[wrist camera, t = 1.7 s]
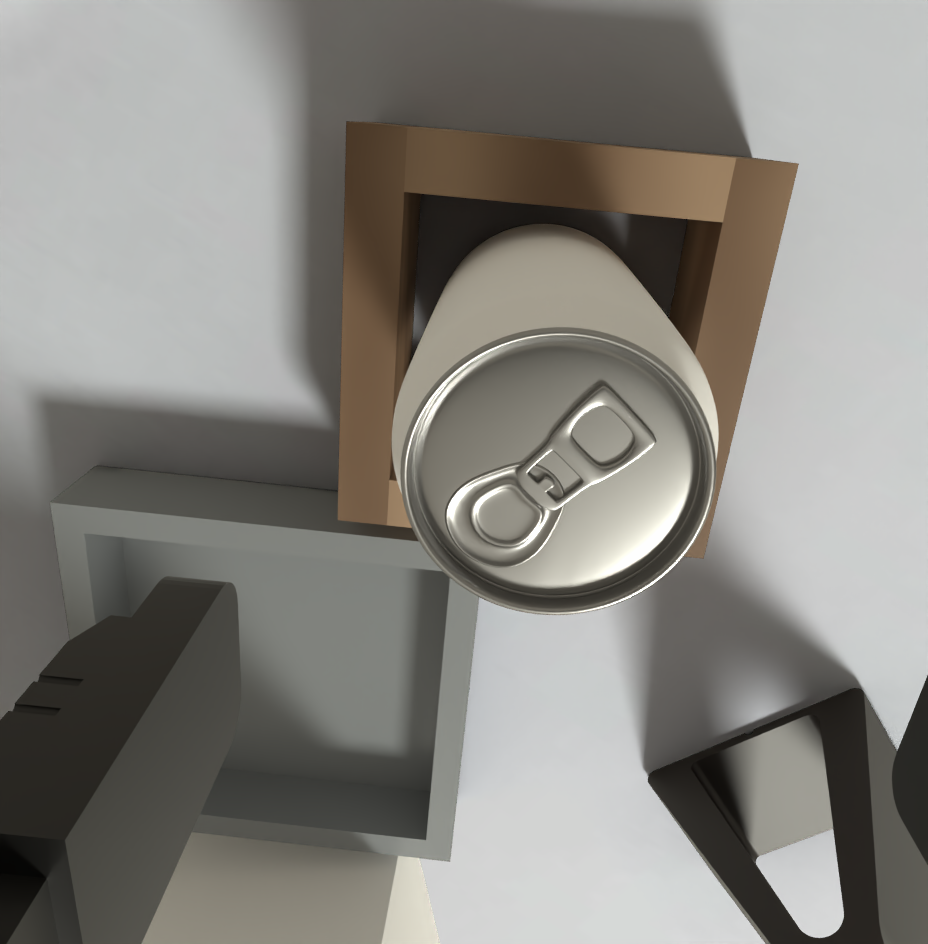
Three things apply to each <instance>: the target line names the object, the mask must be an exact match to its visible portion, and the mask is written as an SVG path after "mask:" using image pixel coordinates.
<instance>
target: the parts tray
mask: <svg viewBox="0 0 928 944" xmlns="http://www.w3.org/2000/svg"><path fill="white" fill-rule="evenodd" d="M50 507H51V514H52V521H53V528H54V535H55V542H56V549H57V555H58V562H59V569H60V576H61V583H62V590H63V597H64V604H65V611H66V618H67V625H68V632H69V638H70V640H71V639H73V638H74V637H76V636H78V635H79V634H81V633H82V632H84V631H86V630H87V629H89V628H91V627H92V626H94V625H95V624H97V623H99V622H100V621H102V620H104V619H105V618H107V617H108V616H110V615H114V616H124V617H132V616H133V615H134V613H135V612H136V611H137V609H138V608H139V607H140V605H141V604H142V603H143V602H144V600H145V599H146V598H147V596H148V595H149V594H150V592H151V591H152V590H153V589H154V587H155V586H156V585H157V583H158V582H159V581H160V580H161V579H162V578H164V577H166V576H172V577H182V578H192V579H202V580H212V581H222V582H231V583H233V584H234V586H235V588H236V592H237V598H238V619H239V643H240V668H241V704H240V712H239V718H238V723H237V727H236V731H235V734H234V738H233V741H232V743H231V746H230V748H229V751H228V753H227V755H226V757H225V759H224V762H223V764H222V766H221V768H220V771H219V773H218V775H217V777H216V779H215V782H214V784H213V786H212V788H211V791H210V793H209V795H208V797H207V799H206V802H205V804H204V806H203V808H202V811H201V813H200V815H199V817H198V819H197V822H196V824H195V826H194V828H193V831H192V832H195V833H204V834H213V835H221V836H230V837H239V838H248V839H256V840H265V841H274V842H282V843H291V844H300V845H309V846H317V847H326V848H335V849H344V850H352V851H361V852H370V853H379V854H387V855H396V856H405V857H413V858H422V859H431V860H440V861H448V862H450V857H451V848H452V839H453V830H454V821H455V812H456V803H457V794H458V784H459V775H460V766H461V757H462V748H463V739H464V730H465V721H466V712H467V703H468V693H469V684H470V675H471V666H472V657H473V648H474V639H475V630H476V621H477V611H478V602H479V597H478V596H476V595H475V594H473V593H471V592H469V591H468V590H466V589H465V588H463V587H462V586H460V585H459V584H457V583H456V582H455V581H453V580H452V579H451V578H450V577H449V576H447V575H446V574H445V573H444V572H443V571H442V570H441V569H440V568H439V567H438V566H437V565H436V564H435V563H434V561H433V560H432V559H431V558H430V557H429V555H428V554H427V553H426V551H425V550H424V548H423V547H422V545H421V544H420V542H419V540H418V539H417V537H416V535H415V533H414V531H413V529H412V528H408V527H398V526H389V525H379V524H370V523H360V522H351V521H341V520H338V491H334V490H324V489H315V488H305V487H295V486H286V485H276V484H267V483H257V482H247V481H238V480H228V479H219V478H209V477H199V476H190V475H180V474H171V473H161V472H152V471H142V470H132V469H123V468H113V467H104V466H95V467H94V468H92V469H91V470H90V471H89V472H87V473H86V474H85V475H84V476H82V477H81V478H80V479H79V480H77V481H76V482H75V483H74V484H72V485H71V486H70V487H69V488H67V489H66V490H65V491H64V492H62V493H61V494H60V495H59V496H57V497H56V498H55V499H54V500H52V501H51V502H50Z"/></svg>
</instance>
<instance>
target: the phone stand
mask: <svg viewBox="0 0 928 944" xmlns="http://www.w3.org/2000/svg"><path fill="white" fill-rule="evenodd" d="M896 754H897V752H896V750H895V748H894V746H893V744H892V743H891V741H890V739H889V737H888V735H887V734H886V732H885V730H884V728H883V726H882V725H881V723H880V721H879V719H878V717H877V716H876V714H875V712H874V710H873V708H872V707H871V705H870V703H869V701H868V699H867V698H866V696H865V694H864V692H863V691H862V690H861V689H857V688H853V689H850V690H848V691H845V692H843V693H840V694H838V695H836V696H833V697H831V698H828V699H826V700H823V701H821V702H819V703H816V704H814V705H811V706H809V707H807V708H804V709H802V710H799V711H797V712H795V713H792V714H790V715H787V716H785V717H783V718H780V719H778V720H775V721H773V722H771V723H768V724H766V725H763V726H761V727H759V728H756V729H754V730H753V733H752V734H751V735H745V733H744V734H742V735H739V736H737V737H735V738H732V739H730V740H727V741H725V742H723V743H720V744H718V745H715V746H713V747H711V748H708V749H706V750H703V751H701V752H699V753H696V754H694V755H691V756H689V757H687V758H684V759H682V760H679V761H677V762H675V763H672V764H670V765H667V766H665V767H663V768H660V769H658V770H655V771H653V772H652V773H651V774H650V775H649V777H648V783H649V784H650V786H651V787H652V788H653V790H654V791H655V793H656V794H657V795H658V797H659V798H660V800H661V801H662V802H663V804H664V805H665V807H666V808H667V809H668V811H669V812H670V814H671V815H672V816H673V818H674V819H675V821H676V822H677V823H678V825H679V826H680V828H681V829H682V831H683V832H684V833H685V835H686V836H687V838H688V839H689V840H690V842H691V843H692V845H693V846H694V847H695V849H696V850H697V852H698V853H699V854H700V856H701V857H702V859H703V860H704V861H705V863H706V864H707V866H708V867H709V868H710V870H711V871H712V873H713V874H714V875H715V877H716V878H717V879H718V881H719V882H720V883H721V885H722V886H723V887H724V889H725V890H726V891H727V893H728V894H729V895H730V897H731V898H732V899H733V901H734V902H735V903H736V905H737V906H738V907H739V909H740V910H741V911H742V913H743V914H744V915H745V917H746V918H747V919H748V921H749V922H750V923H751V925H752V926H753V927H754V929H755V930H756V931H757V933H758V934H759V935H760V937H761V938H762V939H763V941H764V942H765V943H766V944H928V865H927V863H926V862H925V860H924V858H923V856H922V855H921V853H920V851H919V849H918V848H917V846H916V844H915V842H914V840H913V839H912V837H911V835H910V833H909V832H908V830H907V828H906V826H905V825H904V823H903V821H902V819H901V817H900V815H899V813H898V810H897V808H896V804H895V801H894V796H893V789H892V768H893V763H894V759H895V756H896ZM831 829H833V830H834V838H835V845H836V853H837V861H838V869H839V877H840V885H841V892H842V900H843V908H844V919H843V923H842V925H841V927H840V928H839V929H838V930H837V931H836V932H835V933H834V934H832V935H831V936H828V937H825V938H814V937H810V936H808V935H806V934H805V933H803V932H802V931H801V930H800V929H799V927H798V926H797V924H796V923H795V921H794V920H793V918H792V917H791V916H790V914H789V913H788V911H787V910H786V908H785V907H784V905H783V904H782V902H781V901H780V899H779V898H778V896H777V895H776V893H775V892H774V890H773V889H772V888H771V886H770V885H769V883H768V882H767V880H766V879H765V877H764V876H763V874H762V873H761V871H760V870H759V868H758V867H757V865H756V859H757V857H759V856H760V855H763V854H766V853H768V852H771V851H774V850H777V849H779V848H782V847H785V846H787V845H790V844H793V843H796V842H798V841H801V840H804V839H806V838H809V837H812V836H814V835H817V834H820V833H823V832H825V831H828V830H831Z"/></svg>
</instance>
